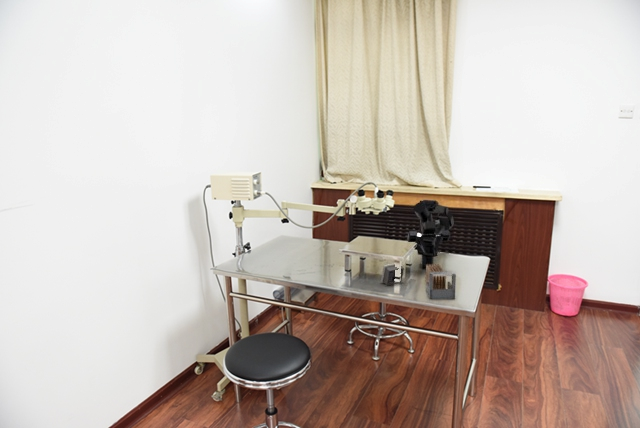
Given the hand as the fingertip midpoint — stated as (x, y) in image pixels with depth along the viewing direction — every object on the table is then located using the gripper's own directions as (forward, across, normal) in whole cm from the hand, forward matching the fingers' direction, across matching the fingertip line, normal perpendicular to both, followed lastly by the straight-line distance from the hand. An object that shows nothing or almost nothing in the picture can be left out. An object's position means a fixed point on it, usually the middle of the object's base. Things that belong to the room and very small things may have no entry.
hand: (430, 252), depth 183 cm
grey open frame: (+22, 0, -5) cm, 23 cm away
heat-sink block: (+16, 0, +1) cm, 16 cm away
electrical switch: (+13, -18, +5) cm, 22 cm away
